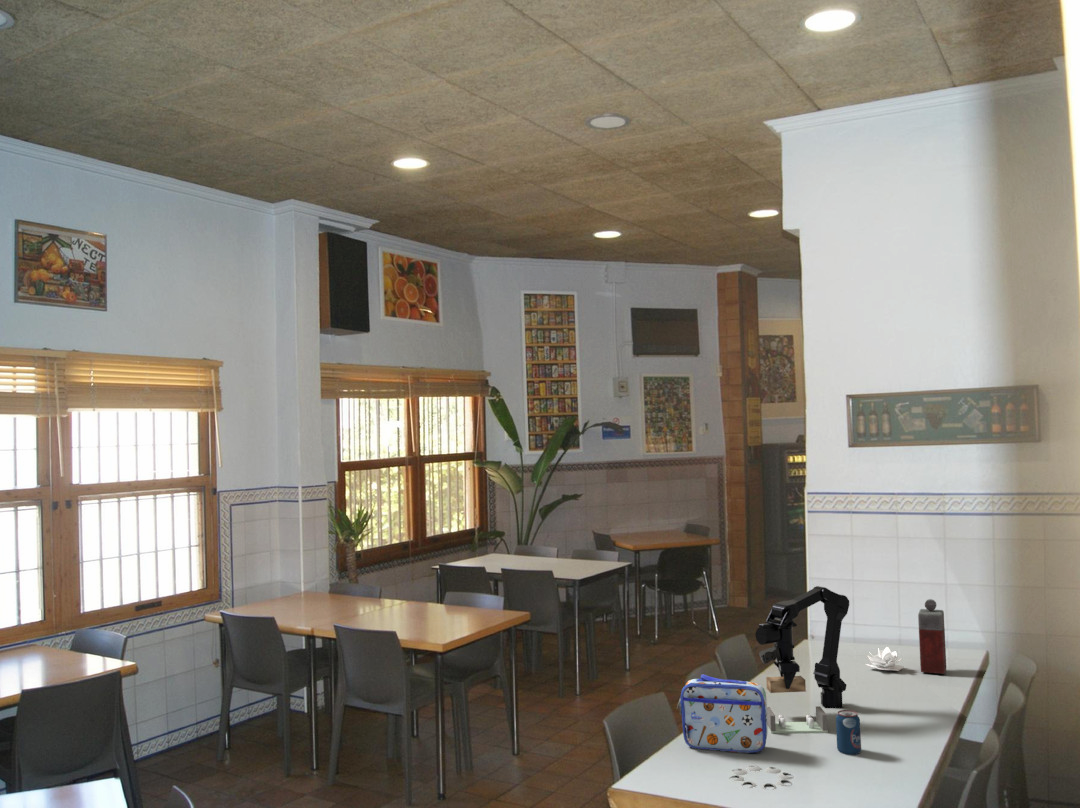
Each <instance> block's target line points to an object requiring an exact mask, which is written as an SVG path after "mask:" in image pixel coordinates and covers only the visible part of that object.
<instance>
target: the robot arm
mask: <svg viewBox="0 0 1080 808" xmlns="http://www.w3.org/2000/svg"><path fill="white" fill-rule="evenodd" d="M818 602H821V603H822V604H823V610H824V613H825V616H826V623H825V624H826V625H825V631H824V633H825V634H824V640H823V648H822V656H821V659H820V661H818V662H815V663H814V671H813V675H814V680H815V682H816V685H817V687H818V688H821V691H820V704H821V705H822V707H824V709H845V707H844V705H843V692H845V691H846V690H847V684H846V683H845V682H844V680H843V679H842V678H841V669H840V667H839V664H838V661H837V660H838V656H839V655H838V653H839V644H840V640H841V639H840V638H841V630H842V622H843V619H844V618H845V617H846V616H847V614H848V611H849V609H850V599H849V598H848V596H846V595H844V594H838V593H836V592H835V591H832V590H830V589H829V588H827V587H824V586H820V585H816V586H814V587H812V589H809V590H808V591H806V592H804V593H802V594H800V595H798V596H796V597H795V598H793V599H789V600H782V601H779V602H775V603H774V604H773V605H772V606H771V608H770V609H771V610H770V612H769V614H768V616H767V618H766V620H765V623H759V625H758V626H759V627H758V628H757V629H756V631H755V632H754V633H755V634H754V636H755V639H756V641H757V643H758V644H759V645H760V646H761V645H768V644H773V646H772V647H769V648H766V649H763V650H761V651H759V652H758V654H759V658H760V661H762V663H763V664H765V665H767V664H768V663H769V662H772V661H773V662H772V663H773V665H774V666H776V667H777V668H778V672H779V675H780V676H779V677H784V682H785V687H786V689H789V688H790V686H791V684H792V681H793V679H794V677H795V676H796V674H797V673H799V672H801V671H800V669H801V668H800V665H799V664H798V662H796V658H795V656H794V649H795V645H794V642H793V641H794V638H793V637H794V636H793V628H794V627H798V624H797V623H795V621H794V620H795V619H796V618H797V617H798V616H799V614H800V612H802V611H804V610H806V609H808V608H809V607H811V606H813V605H815V604H817V603H818Z"/></svg>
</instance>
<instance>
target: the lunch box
mask: <svg viewBox="0 0 1080 808" xmlns="http://www.w3.org/2000/svg"><path fill="white" fill-rule="evenodd" d="M680 692H681V693H680V697H679V701H678V703H677V706H676V709H677V710H678V709H679V715H681V723H682V734H683V739H684V742H685V744H686V745H687V747H690V748H692V749H695V748H697V749H696V750H699V749H700V750H706V749H709V751H716V750H720V751H719V752H725V751H730V752H729V753H742V754H743V753H748V754H752V753H760V752H761V751H763V750H764V749H765V747H766V744H767V738H768V727H767V726H768V719H767V707H768V704H767V703H768V702H767V700H768V699H767V692H766V690H765V688H764V686H762V684H759V683H757V682H751V681H747V680H745V681H744V680H737V679H723V678H716V677H713V676H710V675H707V674H703V673H702V674H701V675H700V678H693V679H689V680H688V681H687V682H686V683H685V685H684V686H683V688H682V689H681V691H680Z"/></svg>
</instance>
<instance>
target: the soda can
mask: <svg viewBox="0 0 1080 808" xmlns="http://www.w3.org/2000/svg"><path fill="white" fill-rule="evenodd" d="M835 730H836V748H837V751H838V752H839V753H841V754H842V755H849V756H850V755H851V756H853V755H854V756H855V755H860V753H861V751H862V738H861V737H862V736H861V735H862V734H861V733H862V732H861V720H860V716H859V714H858V712H857V711H854V710H851V709H841V710H838V711H837V714H836V717H835Z"/></svg>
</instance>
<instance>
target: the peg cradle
mask: <svg viewBox="0 0 1080 808" xmlns="http://www.w3.org/2000/svg"><path fill="white" fill-rule="evenodd" d="M805 716H806V718H805V719H806V721H786V718H785V717H784V714H783V715H782V714H779V715H778V721H776V714H775V713H774V711H773V710H772V709H771V707H770V706H769V707H768V706H767V719H768V726H767V730H768V731H769V732H770V734H819V733H820V734H821V733H822V734H824V733H825V734H827V733H829V731H828V729H829V728H828V714H827V713H826V712H825V710H824V709H823V708H822V706H815V721H814V717H812V715H811V714H806V715H805Z"/></svg>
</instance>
